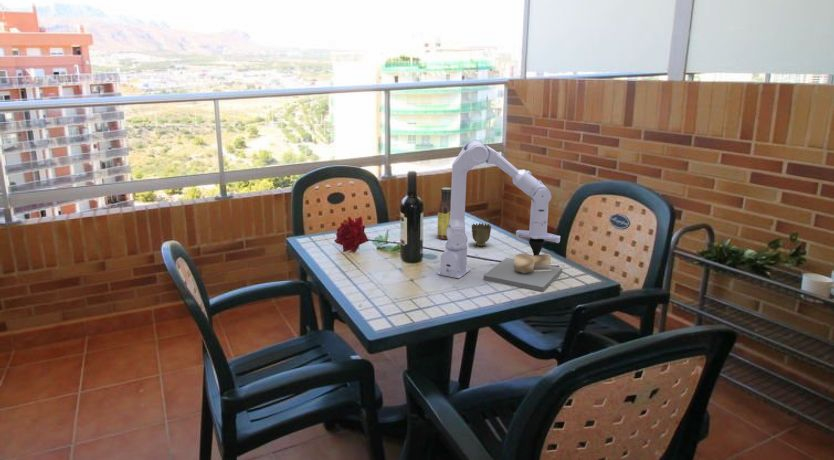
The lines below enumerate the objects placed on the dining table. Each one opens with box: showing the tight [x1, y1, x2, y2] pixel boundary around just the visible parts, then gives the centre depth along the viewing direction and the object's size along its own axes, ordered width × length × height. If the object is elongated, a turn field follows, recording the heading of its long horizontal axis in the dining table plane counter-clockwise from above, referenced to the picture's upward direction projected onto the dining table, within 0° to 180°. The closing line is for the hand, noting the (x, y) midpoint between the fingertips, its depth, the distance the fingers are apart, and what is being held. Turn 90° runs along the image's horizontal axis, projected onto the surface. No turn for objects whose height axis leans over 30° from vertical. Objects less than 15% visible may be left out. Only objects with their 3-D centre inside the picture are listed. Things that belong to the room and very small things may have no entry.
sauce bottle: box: [437, 187, 451, 241], centre depth 239 cm, size 7×6×20 cm
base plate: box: [483, 257, 563, 293], centre depth 202 cm, size 20×20×2 cm
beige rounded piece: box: [514, 253, 552, 272], centre depth 202 cm, size 13×6×4 cm, turn 111°
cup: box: [471, 222, 492, 248], centre depth 231 cm, size 8×7×8 cm
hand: (536, 259), depth 206 cm, fingers closed
